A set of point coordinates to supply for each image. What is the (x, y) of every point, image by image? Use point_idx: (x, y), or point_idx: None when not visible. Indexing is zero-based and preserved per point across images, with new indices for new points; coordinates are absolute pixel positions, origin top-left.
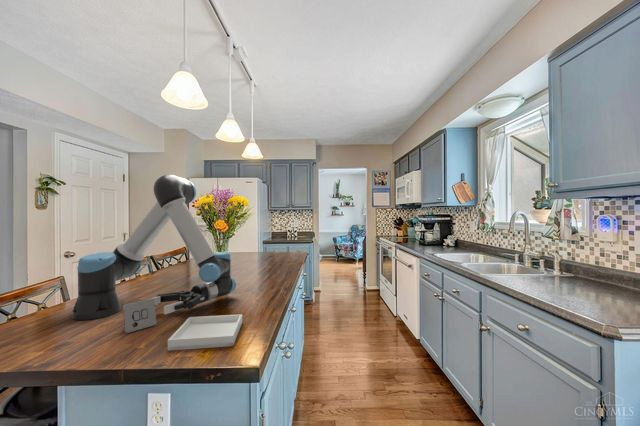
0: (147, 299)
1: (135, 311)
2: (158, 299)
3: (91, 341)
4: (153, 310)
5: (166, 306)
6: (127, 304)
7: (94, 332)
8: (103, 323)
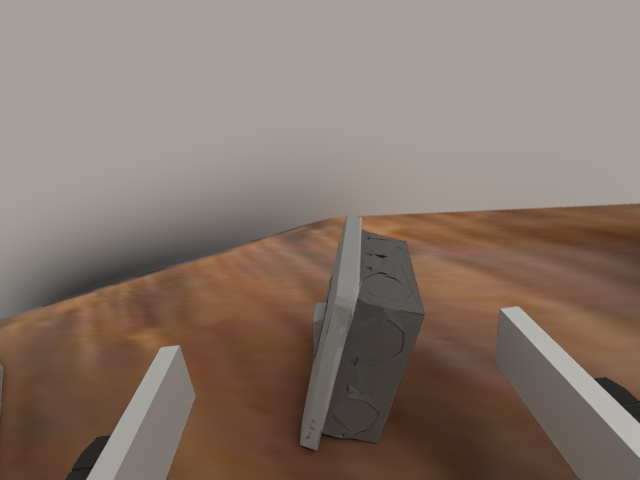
0: (349, 268)
1: (330, 279)
2: (608, 459)
3: None
4: (315, 362)
5: (157, 357)
6: (346, 221)
7: (450, 288)
8: (573, 315)
